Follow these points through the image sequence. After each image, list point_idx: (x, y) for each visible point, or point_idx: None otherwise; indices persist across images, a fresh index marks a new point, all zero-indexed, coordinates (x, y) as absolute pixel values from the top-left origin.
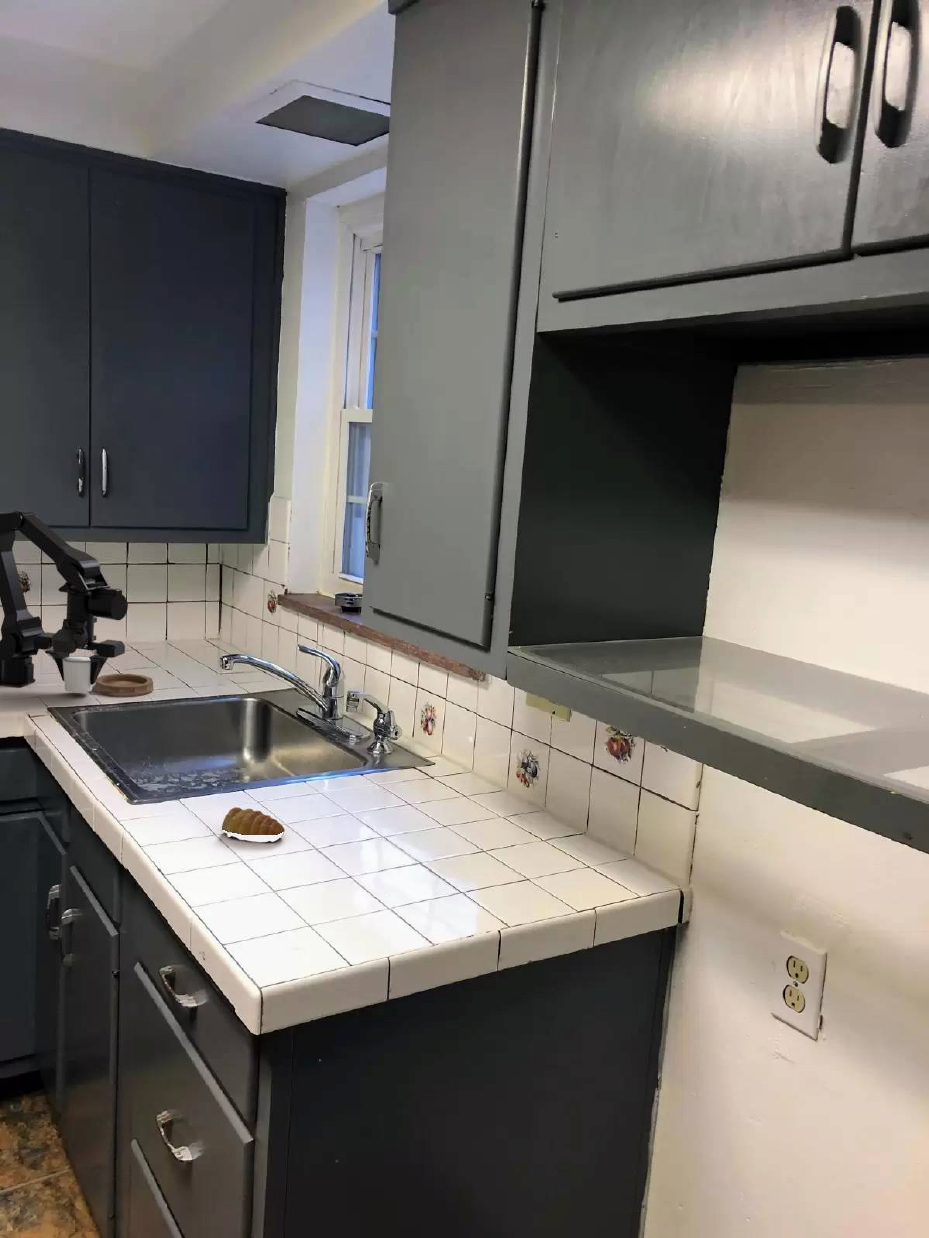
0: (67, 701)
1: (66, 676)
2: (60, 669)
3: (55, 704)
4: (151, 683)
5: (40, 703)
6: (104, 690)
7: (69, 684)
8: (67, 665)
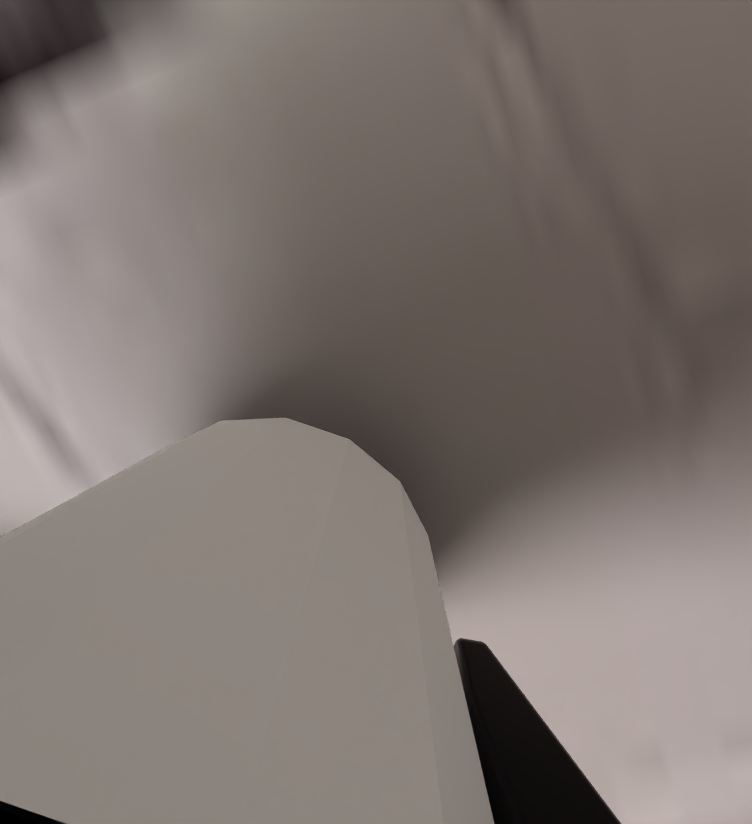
0: (297, 247)
1: (348, 553)
2: (568, 813)
3: (381, 43)
4: None
5: (588, 25)
6: None
7: (304, 463)
8: (212, 769)
